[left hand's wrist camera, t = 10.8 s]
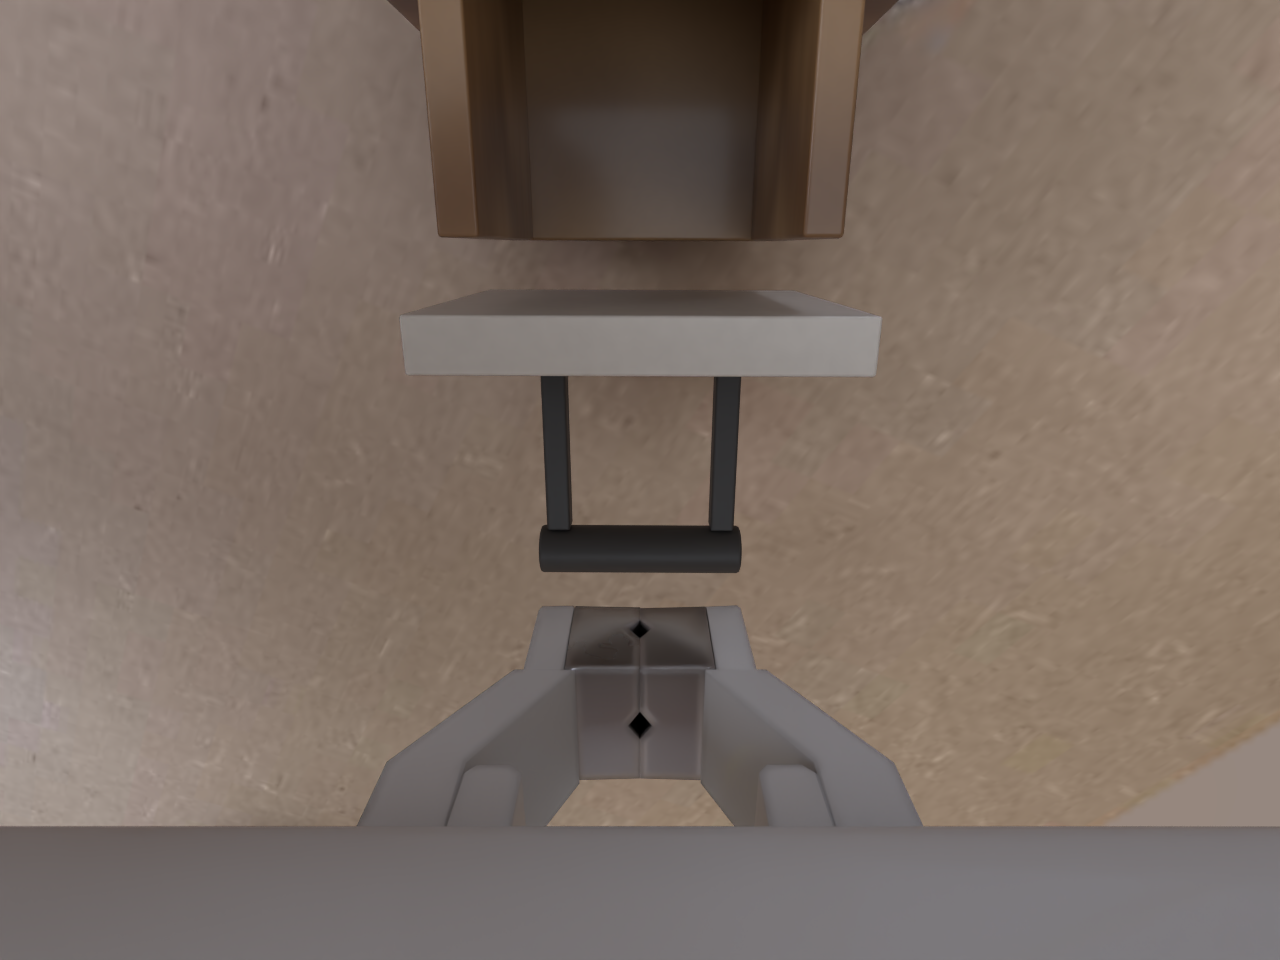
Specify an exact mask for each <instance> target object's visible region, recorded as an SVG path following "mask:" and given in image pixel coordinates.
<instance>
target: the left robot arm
mask: <svg viewBox="0 0 1280 960" xmlns="http://www.w3.org/2000/svg"><path fill="white" fill-rule="evenodd" d="M632 778H646V779H682V780H701V784H702V785H703V786H704V788H705V789H706V790H707V792H708V793H709V794H710V795H711V797H712V798H713V799H714V801H715V802H716V803H717V804H718V806H719V807H720V808H721V810H722V811H723V812H724V813H725V815H726V816H727V817H728V819H729V820H730V821H731V822H732V824H733V825H734V826H546V825H547V824H548V823H549V822H550V820H551V819H552V818H553V816H554V815H555V814H556V813H557V811H558V810H559V809H560V808H561V806H562V805H563V804H564V802H565V801H566V800H567V799H568V797H569V796H570V795H571V793H572V792H573V791H574V790H575V788H576V787H577V786H578V785H579V780H597V779H632ZM0 960H1280V827H1160V826H1157V827H1156V826H1154V827H1152V826H1151V827H1150V826H1147V827H1146V826H1138V827H1137V826H923V825H922V822H921V820H920V818H919V816H918V814H917V812H916V809H915V807H914V805H913V803H912V801H911V799H910V796H909V794H908V792H907V790H906V788H905V786H904V783H903V781H902V779H901V777H900V775H899V773H898V770H897V768H896V766H895V764H894V763H893V762H892V761H891V760H889V759H888V758H887V757H885V756H884V755H883V754H881V753H880V752H878V751H877V750H876V749H874V748H873V747H872V746H870V745H869V744H867V743H866V742H865V741H863V740H862V739H861V738H859V737H858V736H856V735H855V734H854V733H852V732H851V731H850V730H848V729H847V728H845V727H844V726H843V725H841V724H840V723H839V722H837V721H836V720H834V719H833V718H832V717H830V716H829V715H828V714H826V713H825V712H823V711H822V710H821V709H819V708H818V707H817V706H815V705H814V704H813V703H811V702H810V701H808V700H807V699H806V698H804V697H803V696H802V695H800V694H799V693H797V692H796V691H795V690H793V689H792V688H791V687H789V686H788V685H786V684H785V683H784V682H782V681H781V680H780V679H778V678H777V677H775V676H774V675H773V674H771V673H770V672H769V671H767V670H757V669H756V666H755V662H754V658H753V654H752V650H751V646H750V643H749V639H748V635H747V631H746V627H745V624H744V620H743V616H742V612H741V608H740V607H738V606H712V607H674V608H640V607H589V606H576V607H574V606H542V607H541V608H540V609H539V611H538V615H537V619H536V623H535V627H534V631H533V634H532V638H531V642H530V646H529V650H528V654H527V658H526V662H525V665H524V669H523V670H513V671H511V672H510V673H509V674H507V675H506V676H505V677H503V678H502V679H500V680H499V681H498V682H496V683H495V684H494V685H492V686H491V687H489V688H488V689H487V690H485V691H484V692H482V693H481V694H480V695H478V696H477V697H476V698H474V699H473V700H471V701H470V702H469V703H467V704H466V705H465V706H463V707H462V708H460V709H459V710H458V711H456V712H455V713H454V714H452V715H451V716H449V717H448V718H447V719H445V720H444V721H442V722H441V723H440V724H438V725H437V726H436V727H434V728H433V729H431V730H430V731H429V732H427V733H426V734H425V735H423V736H422V737H420V738H419V739H418V740H416V741H415V742H414V743H412V744H411V745H409V746H408V747H407V748H405V749H404V750H402V751H401V752H400V753H398V754H397V755H396V756H394V757H393V758H391V759H390V760H389V761H387V763H386V765H385V767H384V769H383V771H382V773H381V775H380V778H379V780H378V782H377V784H376V786H375V788H374V790H373V793H372V795H371V797H370V799H369V801H368V803H367V805H366V807H365V810H364V812H363V814H362V816H361V818H360V820H359V822H358V825H357V826H0Z"/></svg>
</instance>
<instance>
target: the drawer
mask: <svg viewBox="0 0 1280 960" xmlns="http://www.w3.org/2000/svg"><path fill="white" fill-rule="evenodd" d="M865 1H866V0H418V11H419V23H420V34H421V45H422V57H423V68H424V80H425V91H426V103H427V114H428V125H429V137H430V148H431V160H432V171H433V182H434V194H435V205H436V217H437V228H438V235H439V236H440V237H448V238H471V239H494V240H575V241H785V240H810V239H835V238H841V237H842V236H843V234H844V225H845V215H846V204H847V193H848V182H849V172H850V161H851V150H852V140H853V129H854V118H855V108H856V97H857V86H858V75H859V65H860V54H861V43H862V33H863V22H864V11H865ZM399 320H400V329H401V338H402V347H403V357H404V366H405V373H406V374H407V375H430V376H541V395H542V417H543V440H544V462H545V485H546V507H547V525H544V526H542V529H541V532H540V539H539V562H540V568H541V570H542V571H543V572H648V573H737V572H739V570H740V566H741V555H742V546H741V534H740V530H739V527H737V526H733V525H734V506H735V486H736V467H737V447H738V427H739V408H740V388H741V377H874V376H875V375H876V370H877V361H878V352H879V344H880V335H881V326H882V317H880V316H877V315H874V314H871V313H867V312H864V311H861V310H857V309H854V308H851V307H847V306H844V305H840V304H837V303H834V302H830V301H827V300H824V299H820V298H817V297H814V296H810V295H807V294H804V293H800V292H797V291H788V290H487V291H484V292H480V293H476V294H473V295H469V296H466V297H462V298H459V299H455V300H452V301H448V302H445V303H441V304H437V305H434V306H430V307H427V308H423V309H420V310H416V311H413V312H409V313H406V314H402V315H400V317H399ZM568 376H692V377H714V390H713V416H712V442H711V469H710V495H709V521H708V522H709V526H666V525H571V524H572V494H571V462H570V431H569V399H568Z"/></svg>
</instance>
